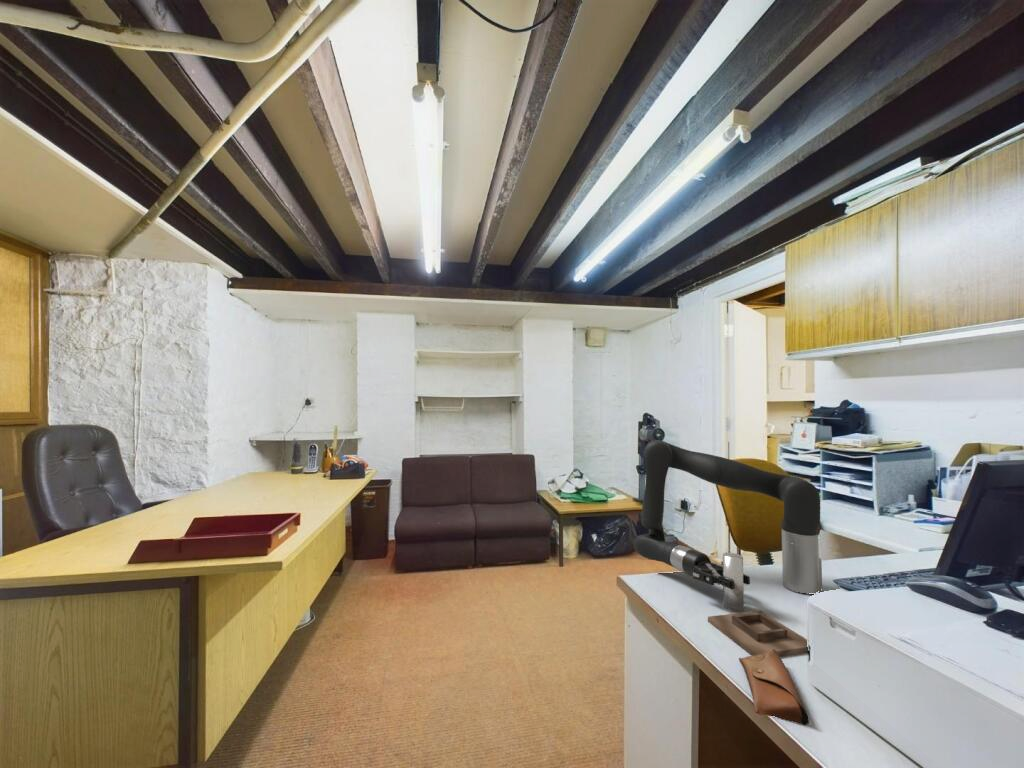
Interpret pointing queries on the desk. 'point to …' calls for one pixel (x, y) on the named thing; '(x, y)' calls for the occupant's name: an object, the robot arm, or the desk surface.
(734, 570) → the column
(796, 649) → the lamp base
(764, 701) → the sunglasses case
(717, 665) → the desk surface
